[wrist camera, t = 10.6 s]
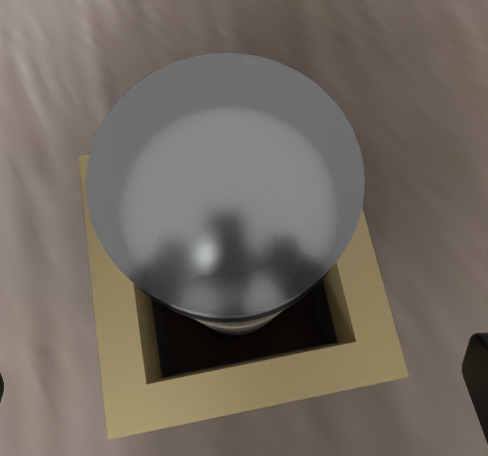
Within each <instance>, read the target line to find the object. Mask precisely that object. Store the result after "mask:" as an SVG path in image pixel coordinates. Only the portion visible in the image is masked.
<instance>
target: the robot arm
mask: <svg viewBox="0 0 488 456" xmlns="http://www.w3.org/2000/svg"><path fill="white" fill-rule="evenodd" d="M462 374H463V378H464V381H465V383H466V386H467V389H468V392H469V394H470V397H471V400H472V403H473V405H474V408H475V411H476V413H477V416H478V419H479V422H480V424H481V427H482V430H483V433H484V435H485V438H486V441H487V443H488V333H475V334H473V335H472V336H471V338H470V340H469V343H468V347H467V350H466V353H465V356H464V360H463V363H462ZM3 391H4V382H3V378H2V376H1V373H0V402H1V399H2V396H3Z"/></svg>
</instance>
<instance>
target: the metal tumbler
mask: <svg viewBox="0 0 488 456" xmlns="http://www.w3.org/2000/svg"><path fill="white" fill-rule="evenodd" d="M364 194H365V172H364V165H363V158H362V154H361V150H360V147H359V143H358V140H357V138H356V136H355V133H354V131H353V128H352V126H351V125H350V123H349V121H348V120H347V118H346V116H345V114H344V113H343V111H342V110H341V109H340V108H339V106H338V105H337V104H336V102H335V101H334V100H333V99H332V98H331V97H330V96H329V95H328V94H327V93H326V92H325V91H324V90H323V89H322V88H321V87H320V86H319V85H317V84H316V83H315V82H313V81H312V80H311V79H310V78H308V77H307V76H305V75H303V74H302V73H300V72H298V71H297V70H295V69H293V68H291V67H288V66H286V65H284V64H282V63H280V62H277V61H274V60H270V59H267V58H264V57H260V56H254V55H249V54H241V53H211V54H204V55H198V56H193V57H190V58H186V59H182V60H179V61H176V62H174V63H171V64H169V65H166V66H164V67H162V68H160V69H158V70H156V71H154V72H153V73H151V74H149V75H148V76H146V77H145V78H143V79H142V80H140V81H139V82H138V83H136V84H135V85H134V86H133V87H132V88H130V89H129V90H128V91H127V92H126V93H125V94H124V95H123V96H122V97H121V98H120V99H119V100H118V101H117V103H116V104H115V105H114V106H113V107H112V108H111V110H110V111H109V113H108V115H107V116H106V118H105V119H104V121H103V122H102V124H101V126H100V128H99V130H98V132H97V134H96V136H95V139H94V142H93V145H92V148H91V151H90V154H89V159H88V164H87V170H86V197H87V206H88V210H89V214H90V219H91V222H92V225H93V227H94V230H95V232H96V235H97V237H98V239H99V241H100V243H101V245H102V246H103V248H104V250H105V252H106V253H107V255H108V256H109V257H110V259H111V260H112V261H113V262H114V264H115V265H116V266H117V268H118V269H119V270H120V271H121V272H122V273H123V274H124V275H125V276H127V277H128V278H129V279H130V280H131V281H132V282H133V283H134V284H136V285H137V286H138V287H139V288H140V289H141V290H142V291H143V292H144V293H145V294H147V295H148V296H149V297H151V298H152V299H154V300H155V301H156V302H158V303H160V304H162V305H163V306H165V307H167V308H169V309H171V310H173V311H175V312H177V313H179V314H181V315H184V316H187V317H190V318H192V319H195V320H197V321H198V322H200V323H202V324H204V325H205V326H207V327H209V328H211V329H213V330H215V331H217V332H220V333H223V334H227V335H244V334H248V333H251V332H254V331H256V330H259V329H260V328H262V327H263V326H265V325H266V324H267V323H269V322H270V321H271V320H272V319H273V318H274V317H276V316H277V315H278V314H279V313H280V312H282V311H283V310H284V309H286V308H288V307H290V306H291V305H293V304H294V303H296V302H297V301H299V300H300V299H302V298H303V297H304V296H305V295H307V294H308V293H309V292H310V291H311V290H312V289H313V288H315V287H316V286H317V285H318V284H319V283H320V282H321V281H322V279H323V278H324V277H325V276H326V275H327V274H328V273H329V271H330V270H331V268H332V267H333V265H334V264H335V263H336V262H337V260H338V259H339V258H340V257H341V255H342V253H343V252H344V250H345V249H346V247H347V246H348V244H349V243H350V240H351V238H352V236H353V234H354V232H355V230H356V227H357V225H358V221H359V218H360V215H361V211H362V207H363V200H364Z"/></svg>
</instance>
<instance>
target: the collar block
mask: <svg viewBox="0 0 488 456" xmlns="http://www.w3.org/2000/svg"><path fill="white" fill-rule="evenodd" d="M78 159H79V169H80V179H81V188H82V198H83V207H84V217H85V226H86V236H87V246H88V255H89V265H90V274H91V284H92V294H93V303H94V313H95V322H96V332H97V341H98V351H99V361H100V370H101V380H102V389H103V399H104V409H105V418H106V428H107V437H108V440H111V439H116V438H120V437H125V436H130V435H135V434H140V433H144V432H149V431H154V430H159V429H163V428H168V427H173V426H178V425H183V424H187V423H192V422H197V421H202V420H206V419H211V418H216V417H221V416H226V415H230V414H235V413H240V412H245V411H249V410H254V409H259V408H264V407H269V406H273V405H278V404H283V403H288V402H292V401H297V400H302V399H307V398H312V397H316V396H321V395H326V394H331V393H335V392H340V391H345V390H350V389H355V388H359V387H364V386H369V385H374V384H378V383H383V382H388V381H393V380H398V379H402V378H407V377H409V374H408V371H407V367H406V364H405V360H404V356H403V353H402V349H401V346H400V342H399V338H398V335H397V331H396V327H395V324H394V320H393V317H392V313H391V309H390V306H389V302H388V299H387V295H386V291H385V288H384V284H383V280H382V277H381V273H380V270H379V266H378V262H377V259H376V255H375V252H374V248H373V244H372V241H371V237H370V233H369V230H368V226H367V223H366V219H365V215H364V212H363V208H362V211H361V215H360V218H359V221H358V225H357V227H356V230H355V232H354V234H353V236H352V238H351V240H350V243H349V244H348V246H347V247H346V249H345V250H344V252H343V253H342V255H341V257H340V258H339V259H338V260H337V262H336V263H335V264H334V265H333V267H332V268H331V270H330V271H329V273H328V274H327V275H326V276H325V277H324V278H323V279H322V281H321V282H320V283H319V284H318V285H317V286H316V287H315V288H313V289H312V292H313V296H314V301H315V305H316V309H317V314H318V318H319V322H320V326H321V331H322V335H323V339H324V343H323V344H318V345H313V346H308V347H303V348H298V349H294V350H289V351H284V352H279V353H274V354H269V355H264V356H259V357H254V358H249V359H244V360H239V361H234V362H229V363H224V364H220V365H215V366H210V367H205V368H200V369H195V370H190V371H185V372H180V373H175V374H173V368H172V361H171V354H170V347H169V340H168V333H167V327H166V320H165V313H164V306H163V305H162V304H160V303H158V302H156V301H155V300H154V299H152V298H151V297H149V296H148V295H147V294H145V293H144V292H143V291H142V290H141V289H140V288H139V287H138V286H137V285H136V284H134V283H133V282H132V281H131V280H130V279H129V278H128V277H127V276H125V275H124V274H123V273H122V272H121V271H120V270H119V269H118V268H117V266H116V265H115V264H114V262H113V261H112V260H111V259H110V257H109V256H108V255H107V253H106V252H105V250H104V248H103V246H102V245H101V243H100V241H99V239H98V237H97V235H96V232H95V230H94V227H93V225H92V222H91V219H90V214H89V210H88V206H87V197H86V170H87V164H88V159H89V154H86V155H80V156H78Z"/></svg>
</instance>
